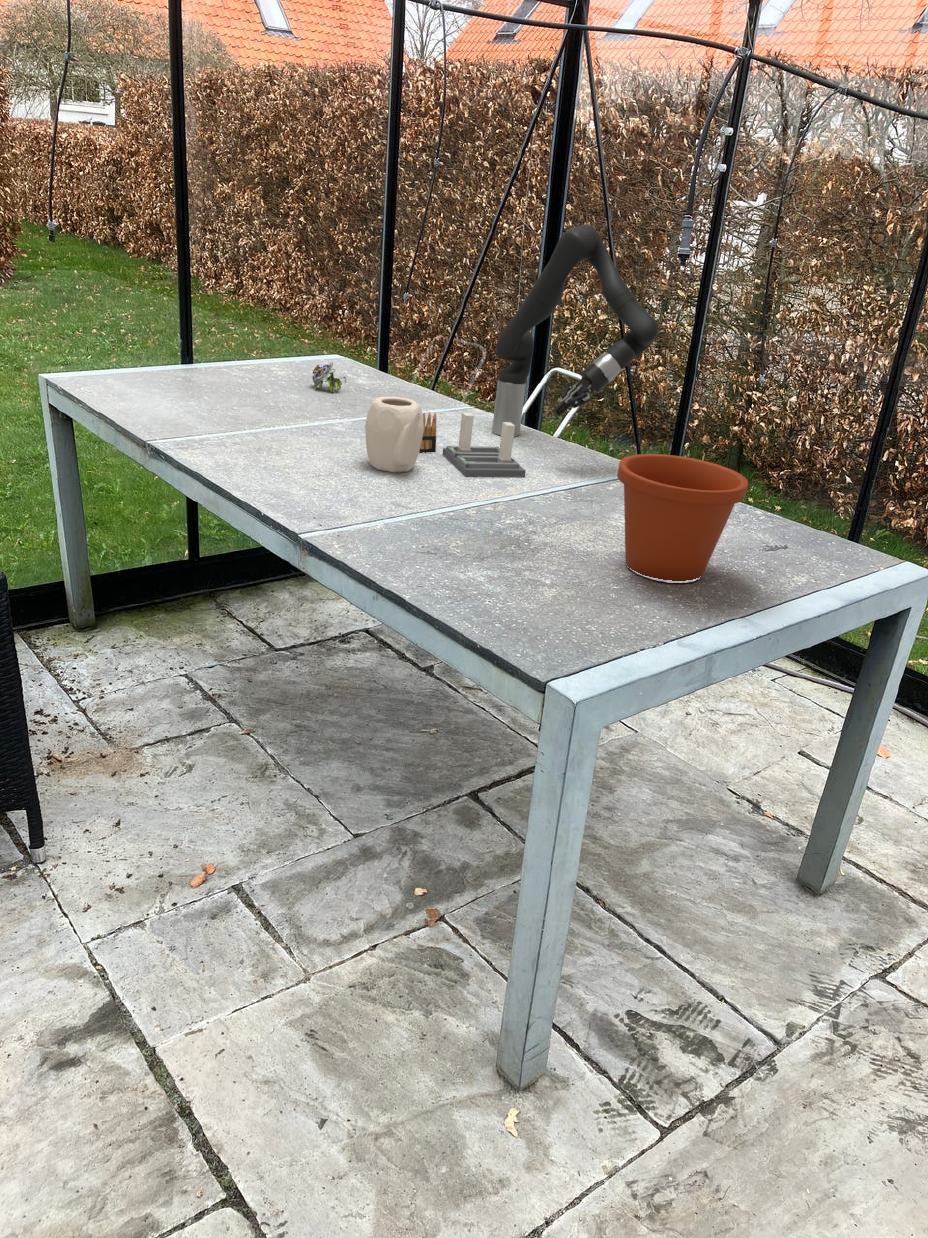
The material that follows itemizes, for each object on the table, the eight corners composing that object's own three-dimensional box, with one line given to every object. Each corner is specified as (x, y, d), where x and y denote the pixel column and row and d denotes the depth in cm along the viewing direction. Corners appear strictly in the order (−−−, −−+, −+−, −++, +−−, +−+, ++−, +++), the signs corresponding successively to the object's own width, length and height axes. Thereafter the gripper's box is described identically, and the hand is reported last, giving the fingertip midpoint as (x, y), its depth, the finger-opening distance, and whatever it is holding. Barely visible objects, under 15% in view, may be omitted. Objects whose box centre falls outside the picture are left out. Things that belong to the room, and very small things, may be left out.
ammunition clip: (403, 453, 287) (406, 413, 282) (400, 451, 289) (403, 411, 284) (435, 452, 292) (439, 413, 287) (433, 450, 294) (436, 411, 289)
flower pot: (577, 561, 221) (593, 462, 212) (648, 539, 240) (666, 448, 230) (680, 605, 204) (703, 499, 194) (748, 578, 223) (772, 481, 213)
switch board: (442, 454, 291) (443, 443, 290) (498, 455, 297) (499, 444, 295) (465, 476, 272) (466, 464, 271) (524, 477, 278) (526, 465, 277)
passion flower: (316, 404, 355) (303, 373, 355) (341, 397, 360) (329, 367, 360) (326, 393, 345) (313, 361, 345) (352, 386, 350) (340, 355, 350)
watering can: (388, 484, 258) (393, 414, 250) (349, 456, 279) (353, 390, 271) (440, 481, 265) (446, 413, 258) (398, 454, 286) (403, 390, 278)
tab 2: (496, 460, 282) (501, 421, 277) (506, 461, 283) (511, 422, 278) (501, 465, 279) (506, 425, 274) (511, 465, 280) (516, 425, 275)
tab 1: (456, 450, 288) (460, 412, 283) (466, 450, 289) (470, 412, 284) (460, 454, 284) (465, 415, 279) (470, 454, 285) (474, 415, 280)
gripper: (584, 357, 282) (540, 398, 283) (604, 367, 271) (557, 409, 272) (598, 376, 286) (554, 417, 287) (618, 386, 275) (572, 428, 276)
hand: (556, 413), depth 279 cm, fingers closed
